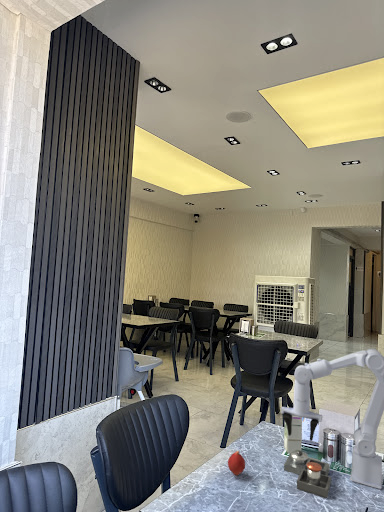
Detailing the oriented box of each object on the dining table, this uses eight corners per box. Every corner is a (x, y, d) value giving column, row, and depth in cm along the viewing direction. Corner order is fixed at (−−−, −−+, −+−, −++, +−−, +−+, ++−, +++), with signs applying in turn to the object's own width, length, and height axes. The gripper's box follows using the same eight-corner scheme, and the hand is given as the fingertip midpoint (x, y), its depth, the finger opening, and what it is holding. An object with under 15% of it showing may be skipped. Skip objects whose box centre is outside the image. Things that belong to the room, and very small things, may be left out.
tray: (330, 484, 119) (330, 476, 119) (326, 498, 111) (327, 490, 111) (302, 476, 123) (302, 468, 123) (296, 488, 115) (296, 480, 115)
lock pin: (321, 483, 118) (322, 464, 119) (319, 490, 114) (320, 470, 115) (307, 479, 120) (308, 460, 121) (305, 485, 116) (305, 466, 117)
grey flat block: (329, 469, 129) (330, 455, 129) (325, 482, 120) (326, 467, 120) (290, 458, 135) (290, 445, 136) (283, 470, 126) (284, 455, 127)
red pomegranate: (224, 476, 120) (226, 451, 121) (231, 469, 125) (232, 445, 126) (241, 481, 117) (242, 456, 118) (247, 474, 122) (248, 449, 123)
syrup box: (301, 454, 140) (303, 415, 141) (286, 453, 140) (287, 414, 141) (297, 447, 145) (299, 410, 147) (283, 446, 146) (284, 409, 147)
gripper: (323, 400, 133) (322, 438, 132) (284, 392, 140) (283, 428, 138) (321, 405, 126) (319, 445, 125) (280, 397, 133) (278, 435, 132)
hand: (300, 437), depth 131 cm, fingers open, 7 cm apart
